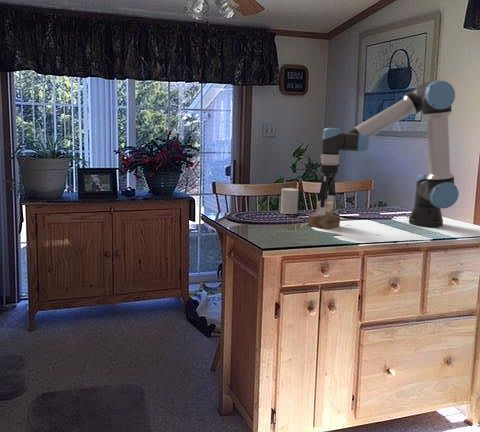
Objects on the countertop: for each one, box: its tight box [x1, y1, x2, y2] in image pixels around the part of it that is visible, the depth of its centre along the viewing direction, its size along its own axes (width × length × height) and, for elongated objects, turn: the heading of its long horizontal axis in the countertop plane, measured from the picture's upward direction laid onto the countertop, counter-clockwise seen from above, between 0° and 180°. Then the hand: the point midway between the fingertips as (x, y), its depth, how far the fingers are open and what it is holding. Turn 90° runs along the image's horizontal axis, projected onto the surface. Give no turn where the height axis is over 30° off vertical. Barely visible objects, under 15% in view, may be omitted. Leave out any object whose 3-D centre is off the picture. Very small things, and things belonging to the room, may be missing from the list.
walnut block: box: [307, 213, 341, 230], centre depth 237 cm, size 10×10×5 cm
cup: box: [280, 187, 300, 216], centre depth 262 cm, size 8×8×12 cm
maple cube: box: [315, 200, 335, 218], centre depth 236 cm, size 6×6×6 cm
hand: (326, 212), depth 236 cm, fingers open, 13 cm apart
